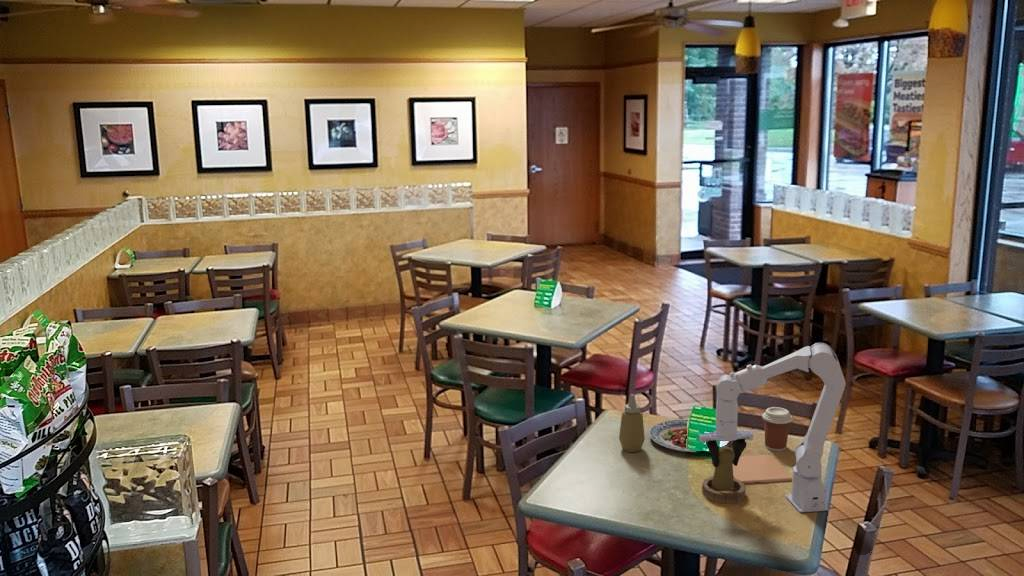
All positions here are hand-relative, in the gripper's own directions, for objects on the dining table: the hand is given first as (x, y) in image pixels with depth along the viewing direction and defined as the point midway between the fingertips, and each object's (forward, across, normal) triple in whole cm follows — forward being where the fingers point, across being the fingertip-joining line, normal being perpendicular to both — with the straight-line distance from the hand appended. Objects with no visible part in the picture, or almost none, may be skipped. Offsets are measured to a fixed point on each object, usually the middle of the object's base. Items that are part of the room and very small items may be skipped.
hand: (724, 465), depth 227 cm
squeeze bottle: (+9, +18, -33) cm, 39 cm away
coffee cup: (+9, -27, -28) cm, 40 cm away
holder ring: (+9, 0, 0) cm, 9 cm away
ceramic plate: (+9, -2, -37) cm, 38 cm away
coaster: (+9, -14, -13) cm, 21 cm away
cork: (+6, 0, 0) cm, 6 cm away
